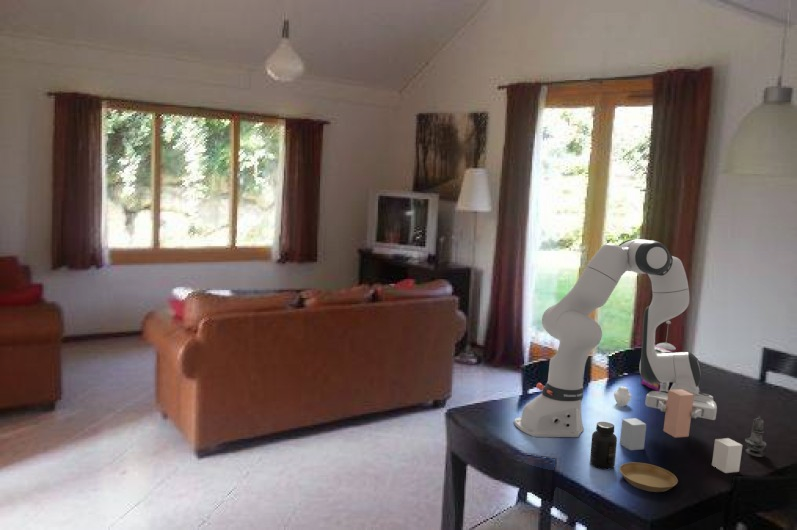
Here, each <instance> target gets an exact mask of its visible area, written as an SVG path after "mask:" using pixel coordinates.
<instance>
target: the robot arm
mask: <svg viewBox="0 0 797 530" xmlns="http://www.w3.org/2000/svg"><path fill="white" fill-rule="evenodd" d="M626 272H634V273H637V274H641V275H642V274H644V275H645V274H647V276H648V277H649V279H650V281H651V282H650V283H651V291H652V293H651V294H652V298H651V301H650V305H648V306H647V307H645V310H644V313H643V321H642V335H641V355H640V361H639V374H640V377H641V379H642V378H643V379H644V380H646V381H647V382H649V383H650V384H654V383H662V382H669V383H672V384H671V386H670V388H669V390H678V389H682V390H684V391H687V392H689V393H691V394H693V395H694V398H693V406H692V413H691V419H697V418H702V419H707V420H711V421H715V420H716V419H717V412H718V407H717V402H716V401H714V396H713V395H710V394H708V393H705V392H702V391H700V388H699V385H700V384H701V383H702V378H703V377H702V375H703V374H702V368H701V364H700V361H699V359H698V358H697V356H695V355H694V354H693V353H692V352H691V351H678V352H676V351H675V352H674V351H673V353H656V352H655V346H656V330H657V328H658V327H659V326H660V325H661V324H663V323H666V321H670V320H672V319H673V318H676V317H679V315H681V314H682V313H683V312H685V311H686V310H687V309H688V307H689V305H690V290H689V289H690V288H689V281H688V277H687V273H686V270H685V267H684V265H683V262H682V260H681V259H680V258H679V257H676V256H673V255H671V253H670V250H669V249H668V248H667V247H666V246H665V245H664V244H663V243H662V242H659V241H656V240H652V239H651V240H649V239H645V238H638V239H628V240H624V241H623V242H621V243H620V244H616V243H605V244H603V245H602V246H601V247H600V248H599V249H598V250H597V251H596V252H595V254H594V255H593V256H592V257H591V259H590V260H589V262H588V263H587V265H586V266H585V268H584V270H583V272H582V273H581V275H580V276H579V278H578V279H577V281H576V283H575V284H574V286H573V287H572V288H571V289H570V291H569V292H568V293H567V294H566V295H564V297H563V298H561V299H560V300H559V301H558V302H557V303H555V304H554V305H552V306H549V307H548V308H547V309H545V311H544V312H543V314H542V317H541V325H542V327H543V329H544V330H545V331H546V332H547V334H549V335H550V337H552V338H554V339H556V340H558V341H559V344H558V348H557V351H556V353H555V355H552V357H551V358H550V359H549V366H548V374H547V375H548V377H547V382H546V383H545V385H544V384H542V383H541V382H537V384H536V388H537V390H540V391H541V393H540V394H539V395H538V396H536V397H534V398H533V399H532V400H531V401H529V402H528V403H527V404H525V405H524V407H523V408H522V413H521V417H515V418H514V421H513V423H514V425H515V427H517V428H518V429H519V430H520V431H522V432H524V433H525V434H527V435H529V436H532V437H535V438H579V437H580V434H581V433H582V432H583V431H584V429H585V428H584V424H583V417H582V416H583V415H582V401H583V398H584V377H585V367H586V364H587V360H588V358H589V355H590V353H591V352H592V350H593V349H595V348H596V347H597V346H598V345H599V344H600V342H601V340H602V337H603V330H602V328H601V326H600V324H599V323H598V322H597V321H596V320H595V319H594V318H592V317H591V316H590V315H591V314H592V313H593V312H594V311H595V310H597V309H599V308H601V307H603V306H604V305H605V304H606V303H607V301H608V300H609V298H610V297H611V295H612V293H613V292H614V290H615V288H616V286H617V285H618V283H619V281H620V280H621V278H622V276H623V275H624V274H625V273H626ZM667 398H668V392H659V391H655V390H651V391H649V392H648V393H647V394H646V395H645V402H644V403H645V406H646V407H649V408H654V409H658V410H660V412H665V413H666V406H667Z"/></svg>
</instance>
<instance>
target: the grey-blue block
mask: <svg viewBox="0 0 797 530" xmlns="http://www.w3.org/2000/svg"><path fill="white" fill-rule="evenodd" d="M646 432H647V423H646V422H643V421H642V420H640V419H638V418H637V417H633V418H622V419H621V428H620V436H619V445H621V446H623V447H624V448H626V449H627V450H629V451H635V450H636V451H637V450H638V451H639V450H644V448H645V442H646V441H645V440H646V434H647V433H646Z"/></svg>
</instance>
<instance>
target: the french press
mask: <svg viewBox="0 0 797 530" xmlns="http://www.w3.org/2000/svg"><path fill="white" fill-rule="evenodd" d="M665 323H666V324H667V327H669V325H671V324H672V322H671V321H670V320H667V321H665ZM668 333H669V328H667V330H666V335H668ZM667 341H668V337H666V339H665V342H659V343H657V344H655V346H657V347H660V348H663V349H666V350H668V351H676V349H677V348H676V347H675V346H674V345H673V344H671V343H668V342H667Z"/></svg>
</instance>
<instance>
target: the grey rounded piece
mask: <svg viewBox="0 0 797 530" xmlns="http://www.w3.org/2000/svg"><path fill="white" fill-rule="evenodd" d="M613 396H614V400H615V402H616V405H618V406H621V407H626V406H627V405H628V404H629V403H630V401H631V400H632V394H631V393H630V391H629V388H628V387H626V386H619V387H618V389H617V390H616V391H615V392H614V393H613Z"/></svg>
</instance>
